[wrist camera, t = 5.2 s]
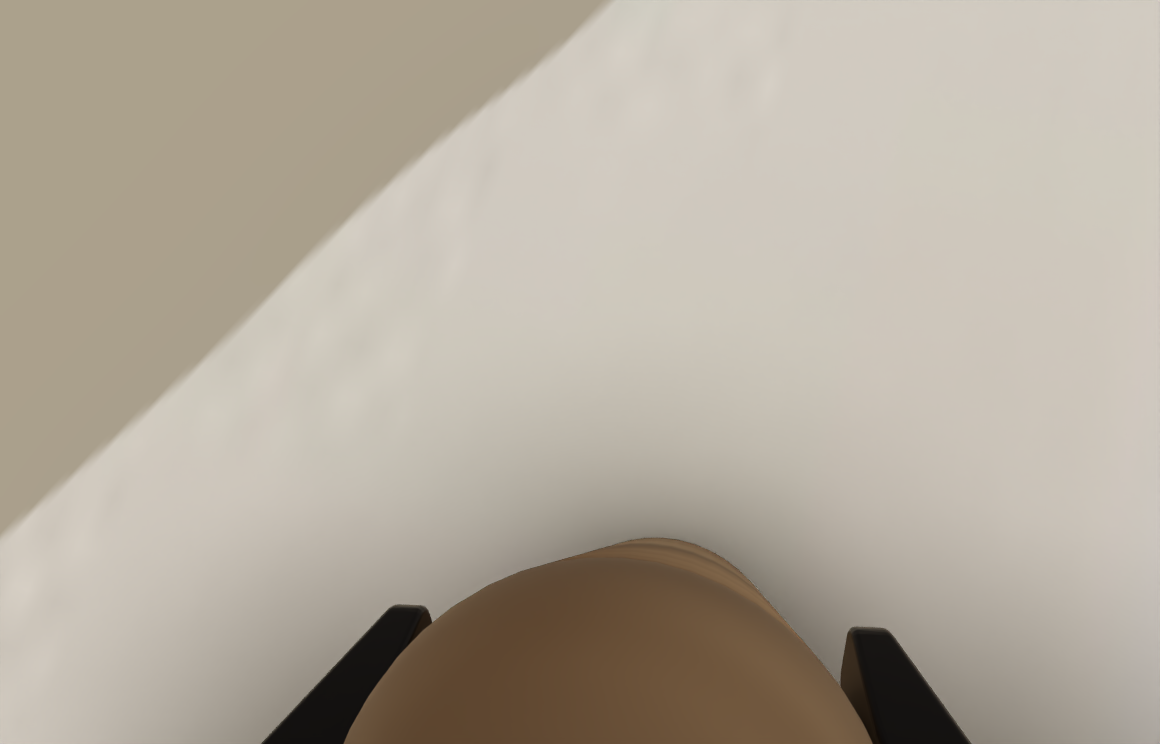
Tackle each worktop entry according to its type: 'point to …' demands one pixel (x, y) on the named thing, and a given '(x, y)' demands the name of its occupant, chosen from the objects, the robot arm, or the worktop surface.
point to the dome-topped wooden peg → (611, 661)
